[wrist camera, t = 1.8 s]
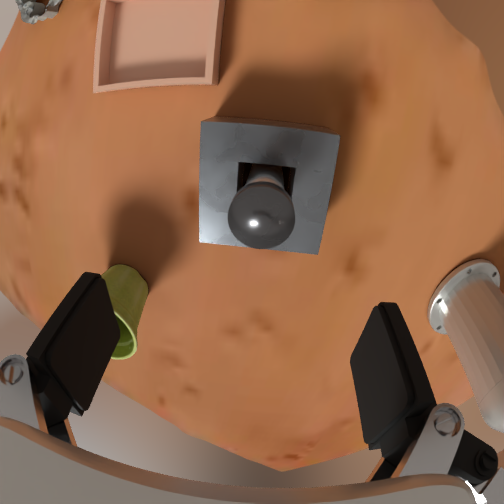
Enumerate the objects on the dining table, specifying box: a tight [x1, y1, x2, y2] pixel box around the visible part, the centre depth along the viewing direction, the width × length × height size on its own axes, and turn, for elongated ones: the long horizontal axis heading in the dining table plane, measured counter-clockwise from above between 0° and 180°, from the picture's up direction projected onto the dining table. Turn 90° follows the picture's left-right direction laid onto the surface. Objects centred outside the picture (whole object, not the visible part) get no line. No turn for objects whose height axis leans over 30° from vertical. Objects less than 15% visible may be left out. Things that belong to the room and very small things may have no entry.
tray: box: [93, 0, 225, 93], centre depth 18 cm, size 11×10×2 cm
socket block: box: [199, 116, 340, 255], centre depth 24 cm, size 10×10×5 cm
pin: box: [228, 163, 295, 249], centre depth 21 cm, size 4×4×10 cm
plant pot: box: [101, 264, 148, 359], centre depth 30 cm, size 9×9×9 cm
